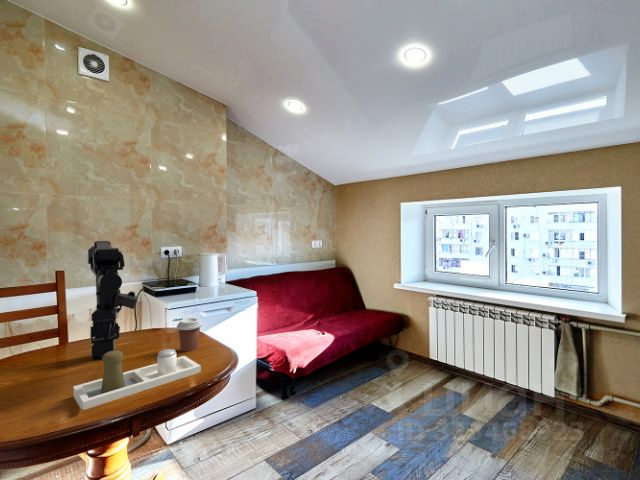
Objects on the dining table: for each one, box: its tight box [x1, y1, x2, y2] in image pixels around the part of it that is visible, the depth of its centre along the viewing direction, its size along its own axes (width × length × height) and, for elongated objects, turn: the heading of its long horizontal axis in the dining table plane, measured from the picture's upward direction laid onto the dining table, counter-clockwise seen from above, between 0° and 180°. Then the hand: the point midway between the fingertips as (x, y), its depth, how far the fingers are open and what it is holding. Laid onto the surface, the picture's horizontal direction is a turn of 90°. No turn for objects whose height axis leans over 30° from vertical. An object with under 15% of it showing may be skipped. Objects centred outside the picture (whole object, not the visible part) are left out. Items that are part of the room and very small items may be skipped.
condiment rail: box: [72, 355, 202, 411], centre depth 103 cm, size 32×12×3 cm, turn 136°
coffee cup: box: [176, 317, 203, 352], centre depth 131 cm, size 9×9×12 cm
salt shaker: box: [156, 348, 177, 377], centre depth 108 cm, size 6×6×7 cm
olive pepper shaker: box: [101, 350, 125, 394], centre depth 97 cm, size 6×6×11 cm
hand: (108, 335), depth 109 cm, fingers open, 9 cm apart
